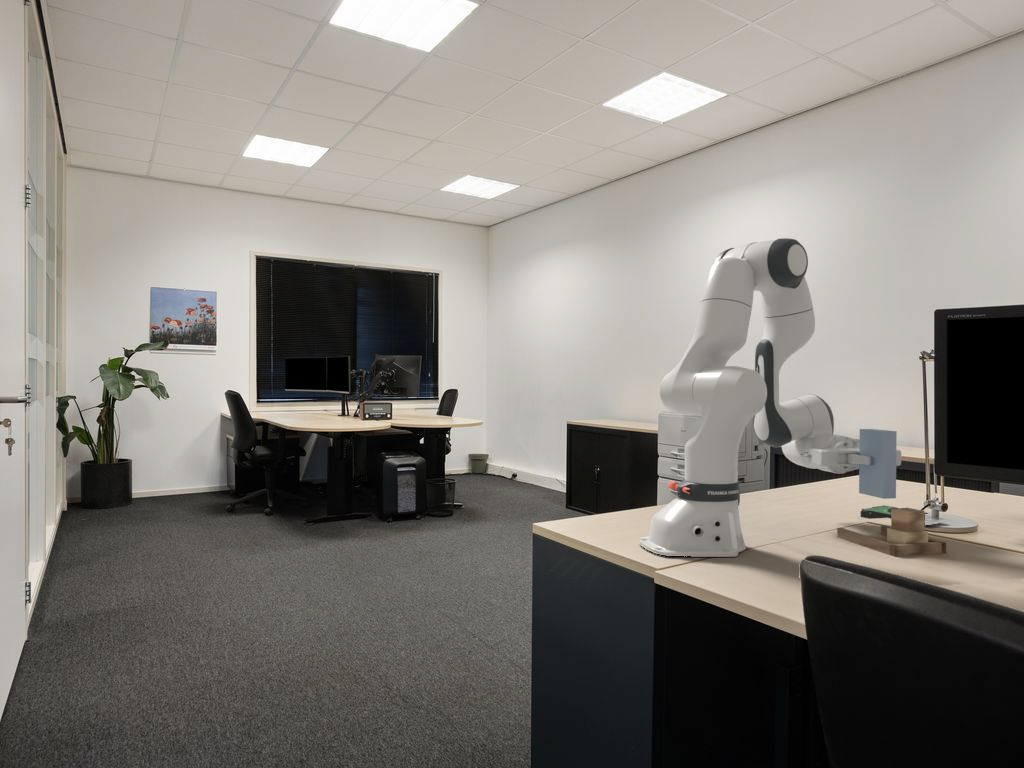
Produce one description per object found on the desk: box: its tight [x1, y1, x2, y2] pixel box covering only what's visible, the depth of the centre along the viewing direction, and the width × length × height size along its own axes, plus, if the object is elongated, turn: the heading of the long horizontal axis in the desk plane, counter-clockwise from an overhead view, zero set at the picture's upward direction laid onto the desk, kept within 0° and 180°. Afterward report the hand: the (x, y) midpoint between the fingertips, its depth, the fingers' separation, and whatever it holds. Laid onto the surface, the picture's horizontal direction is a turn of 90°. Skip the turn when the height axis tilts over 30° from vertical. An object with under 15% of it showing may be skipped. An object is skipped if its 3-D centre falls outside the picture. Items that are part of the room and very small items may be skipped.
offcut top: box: [890, 507, 926, 533], centre depth 130 cm, size 4×4×4 cm
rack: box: [836, 524, 947, 557], centre depth 134 cm, size 12×16×4 cm
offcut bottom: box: [887, 528, 929, 544], centre depth 130 cm, size 6×4×4 cm
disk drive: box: [860, 505, 928, 520], centre depth 164 cm, size 10×3×15 cm
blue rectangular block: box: [858, 428, 897, 500], centre depth 137 cm, size 3×7×14 cm, turn 11°
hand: (880, 460), depth 136 cm, fingers closed on blue rectangular block, 3 cm apart
